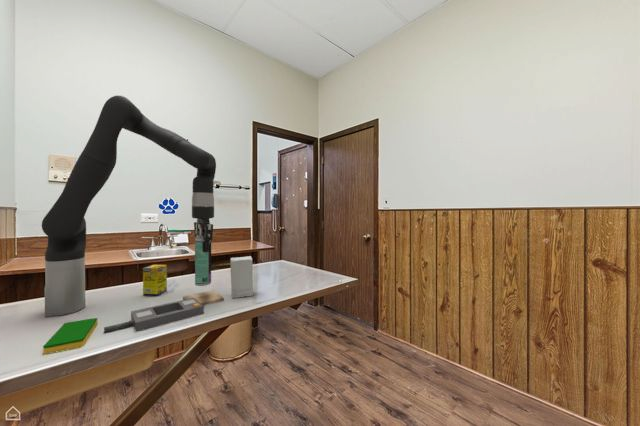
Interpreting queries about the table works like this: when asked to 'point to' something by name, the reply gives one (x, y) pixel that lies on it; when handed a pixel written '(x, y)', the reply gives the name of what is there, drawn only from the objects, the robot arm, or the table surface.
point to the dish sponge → (71, 335)
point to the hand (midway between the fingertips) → (203, 250)
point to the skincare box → (241, 277)
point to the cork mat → (206, 297)
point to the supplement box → (154, 280)
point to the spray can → (202, 263)
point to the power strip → (150, 318)
